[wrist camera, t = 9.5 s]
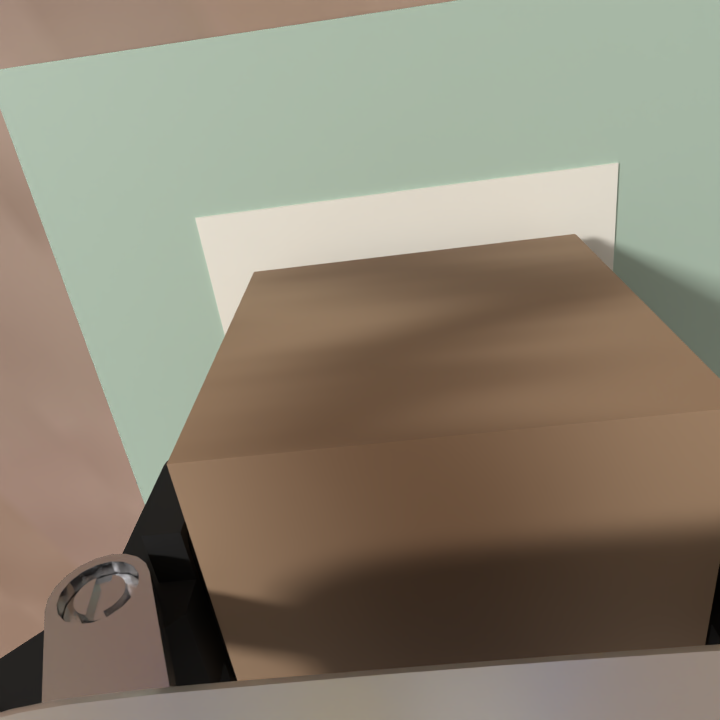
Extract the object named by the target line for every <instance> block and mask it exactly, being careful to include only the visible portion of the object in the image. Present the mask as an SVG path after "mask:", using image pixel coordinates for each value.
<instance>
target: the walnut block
mask: <svg viewBox="0 0 720 720" xmlns="http://www.w3.org/2000/svg"><path fill="white" fill-rule="evenodd" d="M167 467H168V470H169V473H170V476H171V479H172V482H173V485H174V488H175V491H176V495H177V498H178V501H179V504H180V507H181V510H182V513H183V516H184V519H185V522H186V525H187V528H188V531H189V534H190V537H191V540H192V543H193V547H194V550H195V553H196V556H197V559H198V562H199V565H200V568H201V571H202V574H203V577H204V580H205V583H206V586H207V589H208V592H209V595H210V598H211V602H212V605H213V608H214V611H215V614H216V617H217V620H218V623H219V626H220V629H221V632H222V635H223V638H224V641H225V644H226V647H227V650H228V654H229V657H230V660H231V663H232V666H233V669H234V672H235V675H236V678H237V681H244V680H256V679H268V678H281V677H293V676H305V675H317V674H329V673H342V672H354V671H366V670H378V669H391V668H404V667H417V666H430V665H443V664H456V663H469V662H482V661H496V660H509V659H522V658H535V657H549V656H562V655H575V654H589V653H603V652H617V651H631V650H646V649H660V648H674V647H688V646H702V645H705V642H706V637H707V631H708V625H709V620H710V614H711V609H712V603H713V597H714V592H715V586H716V581H717V575H718V569H719V564H720V378H719V377H718V376H717V375H716V374H715V373H714V372H713V371H712V370H711V369H710V368H709V367H708V366H707V365H706V364H705V363H704V362H703V361H702V360H701V359H700V358H699V357H698V356H697V355H696V354H695V353H694V352H693V351H692V350H691V349H690V348H689V347H688V346H687V345H686V344H685V343H684V342H683V341H682V340H681V339H680V338H679V337H678V336H677V335H676V334H675V333H674V332H673V331H672V330H671V329H670V328H669V327H668V326H667V325H666V324H665V323H664V322H663V321H662V320H661V319H660V318H659V317H658V316H657V315H656V314H655V313H654V312H653V311H652V310H651V309H650V308H649V307H648V306H647V305H646V304H645V303H644V302H643V301H642V300H641V299H640V298H639V297H638V296H637V295H636V294H635V293H634V292H633V291H632V290H631V289H630V288H629V287H628V286H627V285H626V284H625V283H624V282H623V281H622V280H621V279H620V278H619V277H618V276H617V275H616V274H615V273H614V272H613V271H612V270H611V269H610V268H609V267H608V266H607V265H606V264H605V263H604V262H603V261H602V260H601V259H600V258H599V257H598V256H597V255H596V254H595V253H594V252H593V251H592V250H591V249H590V248H589V247H588V246H587V245H586V244H585V243H584V242H583V241H582V240H581V239H580V238H579V237H578V236H577V235H576V234H570V235H561V236H553V237H544V238H536V239H527V240H519V241H510V242H502V243H494V244H485V245H477V246H468V247H460V248H451V249H443V250H434V251H426V252H418V253H409V254H401V255H392V256H384V257H375V258H367V259H358V260H350V261H342V262H333V263H325V264H316V265H308V266H299V267H291V268H282V269H274V270H266V271H257V272H254V273H253V275H252V277H251V279H250V282H249V284H248V286H247V288H246V290H245V293H244V295H243V297H242V299H241V301H240V304H239V306H238V308H237V310H236V312H235V315H234V317H233V319H232V321H231V323H230V326H229V328H228V330H227V332H226V334H225V337H224V339H223V341H222V343H221V345H220V348H219V350H218V352H217V354H216V356H215V359H214V361H213V363H212V365H211V367H210V370H209V372H208V374H207V376H206V378H205V381H204V383H203V385H202V387H201V389H200V392H199V394H198V396H197V398H196V400H195V403H194V405H193V407H192V409H191V411H190V414H189V416H188V418H187V420H186V423H185V425H184V427H183V429H182V431H181V434H180V436H179V438H178V440H177V442H176V445H175V447H174V449H173V451H172V453H171V456H170V458H169V460H168V462H167Z"/></svg>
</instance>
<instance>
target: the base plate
mask: <svg viewBox="0 0 720 720" xmlns="http://www.w3.org/2000/svg"><path fill="white" fill-rule="evenodd" d="M0 109H1V112H2V114H3V117H4V120H5V123H6V125H7V128H8V131H9V133H10V136H11V139H12V142H13V144H14V147H15V150H16V153H17V155H18V158H19V161H20V164H21V166H22V169H23V172H24V175H25V177H26V180H27V183H28V186H29V188H30V191H31V194H32V196H33V199H34V202H35V205H36V207H37V210H38V213H39V216H40V218H41V221H42V224H43V227H44V229H45V232H46V235H47V238H48V240H49V243H50V246H51V249H52V251H53V254H54V257H55V259H56V262H57V265H58V268H59V270H60V273H61V276H62V279H63V281H64V284H65V287H66V290H67V292H68V295H69V298H70V301H71V303H72V306H73V309H74V312H75V314H76V317H77V320H78V322H79V325H80V328H81V331H82V333H83V336H84V339H85V342H86V344H87V347H88V350H89V353H90V355H91V358H92V361H93V364H94V366H95V369H96V372H97V375H98V377H99V380H100V383H101V385H102V388H103V391H104V394H105V396H106V399H107V402H108V405H109V407H110V410H111V413H112V416H113V418H114V421H115V424H116V427H117V429H118V432H119V435H120V438H121V440H122V443H123V446H124V448H125V451H126V454H127V457H128V459H129V462H130V465H131V468H132V470H133V473H134V476H135V479H136V481H137V484H138V487H139V490H140V492H141V495H142V498H143V501H144V503H145V504H146V502H147V500H148V498H149V496H150V494H151V492H152V490H153V487H154V485H155V483H156V481H157V479H158V477H159V475H160V472H161V470H162V468H163V466H164V465H165V463H166V462H167V461H168V460H169V458H170V456H171V453H172V451H173V449H174V447H175V445H176V442H177V440H178V438H179V436H180V434H181V431H182V429H183V427H184V425H185V423H186V420H187V418H188V416H189V414H190V411H191V409H192V407H193V405H194V403H195V400H196V398H197V396H198V394H199V392H200V389H201V387H202V385H203V383H204V381H205V378H206V376H207V374H208V372H209V370H210V367H211V365H212V363H213V361H214V359H215V356H216V354H217V352H218V350H219V348H220V345H221V343H222V341H223V339H224V337H225V334H226V332H227V330H228V328H229V326H230V323H231V321H232V319H233V317H234V315H235V312H236V310H237V308H238V306H239V304H240V301H241V299H242V297H243V295H244V293H245V290H246V288H247V286H248V284H249V282H250V279H251V277H252V275H253V273H254V272H257V271H266V270H274V269H282V268H291V267H299V266H308V265H316V264H325V263H333V262H342V261H350V260H358V259H367V258H375V257H384V256H392V255H401V254H409V253H418V252H426V251H434V250H443V249H451V248H460V247H468V246H477V245H485V244H494V243H502V242H510V241H519V240H527V239H536V238H544V237H553V236H561V235H570V234H576V235H577V236H578V237H579V238H580V239H581V240H582V241H583V242H584V243H585V244H586V245H587V246H588V247H589V248H590V249H591V250H592V251H593V252H594V253H595V254H596V255H597V256H598V257H599V258H600V259H601V260H602V261H603V262H604V263H605V264H606V265H607V266H608V267H609V268H610V269H611V270H612V271H613V272H614V273H615V274H616V275H617V276H618V277H619V278H620V279H621V280H622V281H623V282H624V283H625V284H626V285H627V286H628V287H629V288H630V289H631V290H632V291H633V292H634V293H635V294H636V295H637V296H638V297H639V298H640V299H641V300H642V301H643V302H644V303H645V304H646V305H647V306H648V307H649V308H650V309H651V310H652V311H653V312H654V313H655V314H656V315H657V316H658V317H659V318H660V319H661V320H662V321H663V322H664V323H665V324H666V325H667V326H668V327H669V328H670V329H671V330H672V331H673V332H674V333H675V334H676V335H677V336H678V337H679V338H680V339H681V340H682V341H683V342H684V343H685V344H686V345H687V346H688V347H689V348H690V349H691V350H692V351H693V352H694V353H695V354H696V355H697V356H698V357H699V358H700V359H701V360H702V361H703V362H704V363H705V364H706V365H707V366H708V367H709V368H710V369H711V370H712V371H713V372H714V373H715V374H716V375H717V376H718V377H719V378H720V0H458V1H451V2H444V3H438V4H431V5H424V6H418V7H411V8H404V9H398V10H391V11H384V12H378V13H371V14H365V15H358V16H351V17H345V18H338V19H331V20H325V21H318V22H311V23H305V24H298V25H291V26H285V27H278V28H272V29H265V30H258V31H252V32H245V33H238V34H232V35H225V36H218V37H212V38H205V39H198V40H192V41H185V42H179V43H172V44H165V45H159V46H152V47H145V48H139V49H132V50H125V51H119V52H112V53H106V54H99V55H92V56H86V57H79V58H72V59H66V60H59V61H52V62H46V63H39V64H32V65H26V66H19V67H13V68H6V69H0Z"/></svg>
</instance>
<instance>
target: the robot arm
mask: <svg viewBox="0 0 720 720" xmlns="http://www.w3.org/2000/svg"><path fill="white" fill-rule="evenodd" d="M167 462H168V461H167ZM167 462H166V463H165V465H164V466H163V468H162V470H161V472H160V475H159V477H158V479H157V481H156V483H155V485H154V487H153V490H152V492H151V494H150V496H149V498H148V500H147V502H146V504H145V507H144V509H143V511H142V513H141V515H140V517H139V519H138V522H137V524H136V526H135V528H134V530H133V532H132V534H131V537H130V539H129V541H128V543H127V545H126V547H125V549H124V552H123V554H112V555H108V556H104V557H100V558H97V559H94V560H92V561H90V562H88V563H86V564H84V565H81V566H80V567H78V568H77V569H75V570H74V571H73V572H71V573H70V574H68V575H67V576H66V577H65V578H64V579H63V580H62V581H61V582H60V583H59V584H58V585H57V586H56V587H55V588H54V590H53V592H52V593H51V595H50V596H49V598H48V600H47V604H46V608H45V619H44V631H42V632H41V633H39V634H37V635H36V636H34V637H33V638H31V639H30V640H28V641H27V642H25V643H24V644H22V645H21V646H19V647H18V648H16V649H14V650H13V651H11V652H10V653H8V654H7V655H5V656H4V657H2V658H1V659H0V720H720V564H719V569H718V575H717V581H716V586H715V592H714V597H713V603H712V609H711V614H710V620H709V625H708V631H707V637H706V642H705V645H702V646H688V647H674V648H660V649H646V650H631V651H617V652H603V653H589V654H575V655H562V656H549V657H535V658H522V659H509V660H496V661H482V662H469V663H456V664H443V665H430V666H417V667H404V668H391V669H378V670H366V671H354V672H342V673H329V674H317V675H305V676H293V677H281V678H268V679H256V680H244V681H237V678H236V675H235V672H234V669H233V666H232V663H231V660H230V657H229V654H228V650H227V647H226V644H225V641H224V638H223V635H222V632H221V629H220V626H219V623H218V620H217V617H216V614H215V611H214V608H213V605H212V602H211V598H210V595H209V592H208V589H207V586H206V583H205V580H204V577H203V574H202V571H201V568H200V565H199V562H198V559H197V556H196V553H195V550H194V547H193V543H192V540H191V537H190V534H189V531H188V528H187V525H186V522H185V519H184V516H183V513H182V510H181V507H180V504H179V501H178V498H177V495H176V491H175V488H174V485H173V482H172V479H171V476H170V473H169V470H168V467H167Z"/></svg>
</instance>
